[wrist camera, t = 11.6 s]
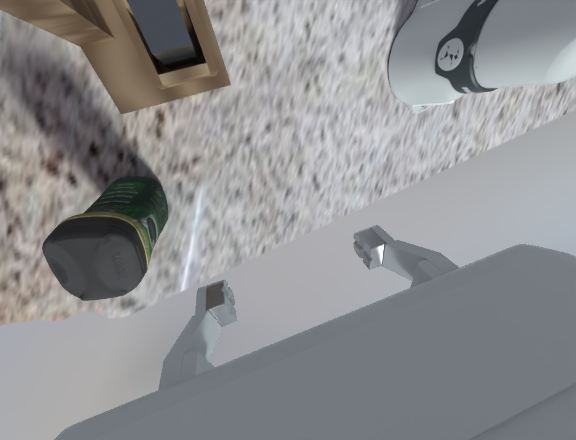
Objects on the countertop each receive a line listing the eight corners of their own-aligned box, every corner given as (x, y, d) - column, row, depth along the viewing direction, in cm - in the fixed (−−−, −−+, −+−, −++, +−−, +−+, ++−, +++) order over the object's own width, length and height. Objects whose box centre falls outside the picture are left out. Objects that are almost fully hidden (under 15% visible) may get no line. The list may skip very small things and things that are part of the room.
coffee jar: (106, 175, 33) (11, 235, 17) (163, 175, 35) (124, 228, 20) (123, 228, 37) (59, 314, 22) (172, 225, 40) (146, 300, 24)
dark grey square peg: (183, 24, 27) (170, -13, 19) (198, 62, 29) (192, 43, 21) (152, 31, 26) (124, -4, 18) (169, 69, 29) (151, 53, 20)
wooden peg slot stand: (194, -26, 26) (164, -241, 10) (230, 85, 32) (247, 62, 16) (56, -1, 24) (-270, -225, 8) (124, 113, 30) (22, 120, 14)
